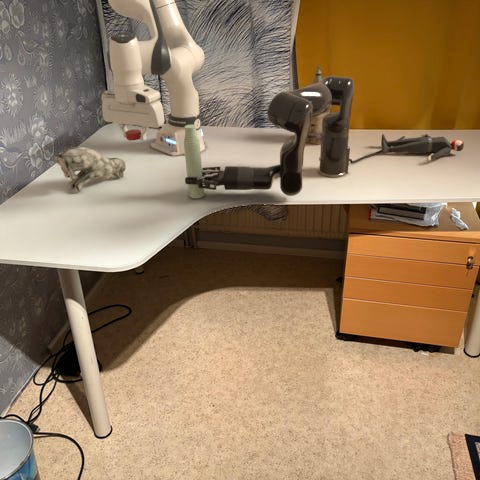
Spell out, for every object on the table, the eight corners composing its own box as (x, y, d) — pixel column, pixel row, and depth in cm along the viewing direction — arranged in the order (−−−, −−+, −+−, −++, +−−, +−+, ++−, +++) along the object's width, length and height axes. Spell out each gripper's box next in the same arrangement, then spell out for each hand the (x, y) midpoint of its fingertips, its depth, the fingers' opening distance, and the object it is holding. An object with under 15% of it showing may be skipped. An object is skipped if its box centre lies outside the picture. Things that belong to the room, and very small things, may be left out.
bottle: (186, 194, 175) (179, 125, 164) (199, 191, 178) (193, 122, 166) (193, 199, 172) (186, 129, 160) (206, 195, 174) (201, 126, 163)
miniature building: (320, 132, 228) (325, 59, 214) (338, 142, 217) (344, 66, 203) (293, 137, 224) (296, 63, 209) (310, 147, 213) (314, 69, 198)
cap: (127, 141, 161) (126, 135, 160) (126, 136, 165) (125, 130, 164) (142, 139, 162) (141, 133, 161) (141, 134, 166) (140, 128, 165)
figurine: (92, 206, 176) (137, 172, 185) (60, 158, 168) (108, 124, 176) (80, 204, 184) (124, 171, 193) (49, 157, 175) (96, 125, 184)
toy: (381, 127, 217) (459, 127, 211) (380, 142, 220) (457, 142, 214) (382, 148, 195) (470, 149, 189) (381, 165, 198) (468, 166, 192)
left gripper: (94, 92, 158) (101, 137, 165) (153, 98, 151) (157, 145, 158) (107, 87, 163) (113, 131, 170) (164, 93, 156) (169, 138, 163)
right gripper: (240, 159, 175) (189, 158, 176) (237, 175, 163) (182, 175, 164) (241, 180, 179) (190, 179, 180) (238, 198, 166) (183, 197, 167)
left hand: (135, 138), depth 164 cm, fingers closed on cap, 4 cm apart
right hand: (186, 177), depth 172 cm, fingers closed on bottle, 5 cm apart
